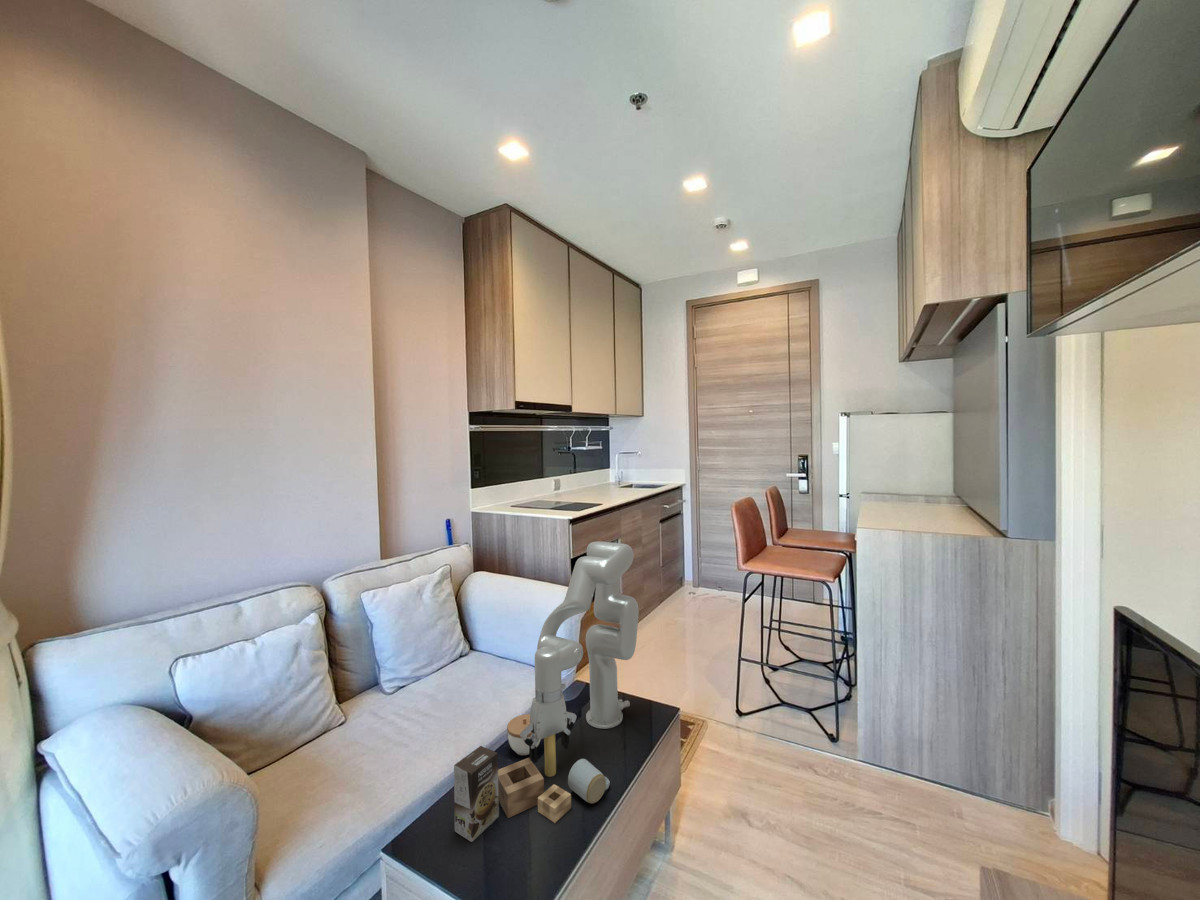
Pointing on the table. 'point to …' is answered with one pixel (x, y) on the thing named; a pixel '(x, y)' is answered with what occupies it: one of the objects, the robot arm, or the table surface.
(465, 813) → the coffee box
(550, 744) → the tan cylindrical rod
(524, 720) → the lidded jar
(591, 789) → the ceramic mug
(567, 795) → the loose bead
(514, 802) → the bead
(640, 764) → the table surface
